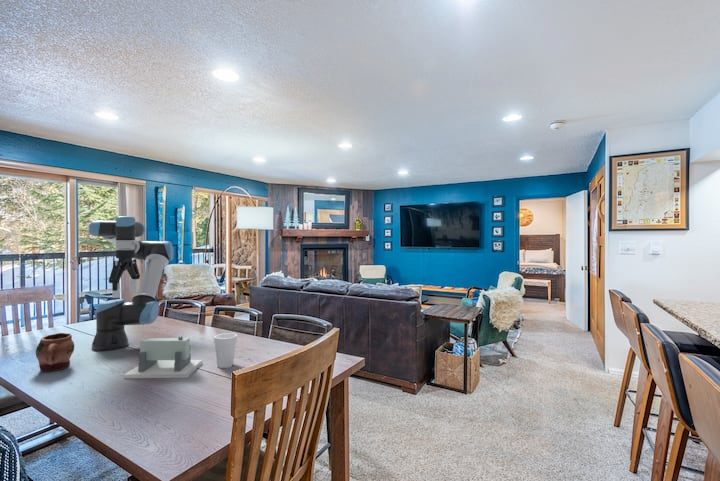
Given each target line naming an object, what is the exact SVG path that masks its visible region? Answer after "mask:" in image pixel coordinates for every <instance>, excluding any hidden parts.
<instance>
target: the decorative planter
mask: <svg viewBox="0 0 720 481" xmlns="http://www.w3.org/2000/svg"><path fill="white" fill-rule="evenodd" d="M72 336H73V335H72V334H71V333H70V332H69V333H67V332H66V333H65V332H58V333H54V334H48V335H45V336H44V337H42V338H40V340H39V343H38V345H37V347H36V349H35V356H36V359H37V361H38V366H39V370H40V371H41V372H42V373H48V372H56V371H60V370H63V369H66V368H67V367H69V366H70V365H71V360H70V359H71V356H72V355H73V353H74V351H75V342H74V341H73V339H72V338H73V337H72Z"/></svg>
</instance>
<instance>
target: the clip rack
mask: <svg viewBox="0 0 720 481" xmlns="http://www.w3.org/2000/svg"><path fill="white" fill-rule="evenodd" d="M138 356H139V357H138V363H137V364H138V365H137V366H135V367H133V369H131V370H129V371H127V372H126V373H124V374H123V378H124V379H173V378H174V379H175V378H176V379H178V378H179V379H180V378H181V379H185V378H186V379H187V378H188V377H189V376H190V375H191V374H192V373H194V372H195V371H196V370H197V369H198V368H199V367H200V366H201V365H202V364H203V360H202V359H191V357H192V355H191V353H190V354H189V357H188V358H187V359H186V360H182V352H175V360H148V361H146V352H140V351H139V353H138Z"/></svg>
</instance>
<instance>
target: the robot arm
mask: <svg viewBox="0 0 720 481" xmlns="http://www.w3.org/2000/svg"><path fill="white" fill-rule="evenodd" d="M146 230H147V228H146V226H145V225H144V223H142V222H140V221H136V218H135V217H134V216H127V215H125V216H122V215H119V216H116V219H115V220H92V221H90V224H89V226H88V232H89V234H90V236H93V237H98V238H99V237H102V238H104V239H105V240H107V241H108V242H109V243H111V244H112V245H114V246H115V249H116V250H115V258H116V259H118V260H113V264H112V270H111V271H110V272H111V273H110V275H109V278H108V283H109V284H112V286H111V287H112V293H111V294H112V297H111V298H113V299H112V300H111V299H110V300H107V301H102V302H100V303H98V304H97V306H96V312H95V314H96V315H95V316H96V317H95V318H96V319H95V320H96V321H95V322H96V323H95V325H96V328H95V329H96V333H95V335H94V338H93V341H92V343H91V350H93V351H98V352H99V351H101V352H102V351H112V350H116V349H117V350H118V349H121V348H124V347H126V346H128V345H129V338H128V336H127V332H126V330H125V326H137V325H139V326H140V325H142V326H144V325H151V324H153V323H154V322H155V321H156V320H157V319H158V316H159V313H160V302H158V300H157V298H156V296H157V292H158V289H159V285H160V282H161V279H162V275H163V271H164V268H165V266H167V265H168V264H169V262H171V261H173V260H174V258H175V257H174V246H173V244H172V242H171V241H169V240H168V241H167V240H162V241H159V240H137V239H136V238H138V237H142V236H143V235H144V234H145V233H146ZM137 261H146V266H145V270H144V271H143V272H144V273H143V275H142V279H141V281H140V284H139V288H138V280H139V279H140V277H141V275H140V271H139V267H138V264H137ZM125 271H127V272H128V274H129V276H130V278H131V279H130V280H129V282H130V283H129V291H130V292H129V293H130V294H136V295H134V296H133V297H132V298H131V301H126V300H125V299H124V298H121V297H120V295H121V294H120V293H121V282H120V281H121V278H122V277H123V276H122V275H123V274H124V272H125Z"/></svg>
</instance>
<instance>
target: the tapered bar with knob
mask: <svg viewBox="0 0 720 481" xmlns="http://www.w3.org/2000/svg"><path fill="white" fill-rule="evenodd" d="M190 339H191V338H190V337H183V336H178V337H164V338H163V337H161V338H158V337H157V338H156V337H154V338H153V337H152V338H147V337H146V338H143V339H142V340H140V342H139V346H140V347H139V348H140V349H139V353H140V352H146V361H148V360H175V352H182V360H186V359H187V358H188V357H189V354H191V344H190V341H191V340H190Z"/></svg>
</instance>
